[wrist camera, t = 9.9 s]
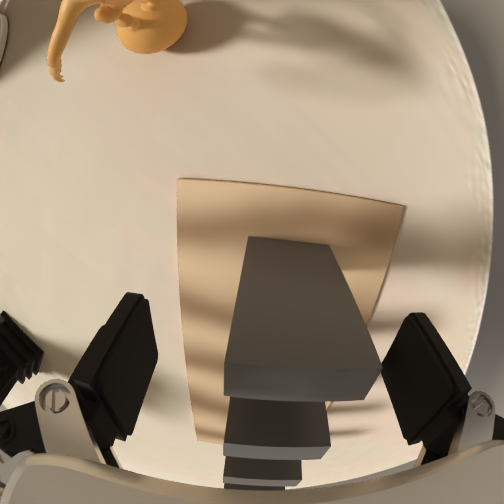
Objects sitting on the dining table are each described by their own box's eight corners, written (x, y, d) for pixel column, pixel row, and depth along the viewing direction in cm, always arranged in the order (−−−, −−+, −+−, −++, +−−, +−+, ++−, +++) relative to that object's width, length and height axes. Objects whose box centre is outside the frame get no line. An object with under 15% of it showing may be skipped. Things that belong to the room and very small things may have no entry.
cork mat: (179, 178, 16) (177, 179, 15) (400, 205, 15) (403, 206, 15) (197, 438, 29) (197, 440, 29) (303, 446, 29) (303, 449, 28)
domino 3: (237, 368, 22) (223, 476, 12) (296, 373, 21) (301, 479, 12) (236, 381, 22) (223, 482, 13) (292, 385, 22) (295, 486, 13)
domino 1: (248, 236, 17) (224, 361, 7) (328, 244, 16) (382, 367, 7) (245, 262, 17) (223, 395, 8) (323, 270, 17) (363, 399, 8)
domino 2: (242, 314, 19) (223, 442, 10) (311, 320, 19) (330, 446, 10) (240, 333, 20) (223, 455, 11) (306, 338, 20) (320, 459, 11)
